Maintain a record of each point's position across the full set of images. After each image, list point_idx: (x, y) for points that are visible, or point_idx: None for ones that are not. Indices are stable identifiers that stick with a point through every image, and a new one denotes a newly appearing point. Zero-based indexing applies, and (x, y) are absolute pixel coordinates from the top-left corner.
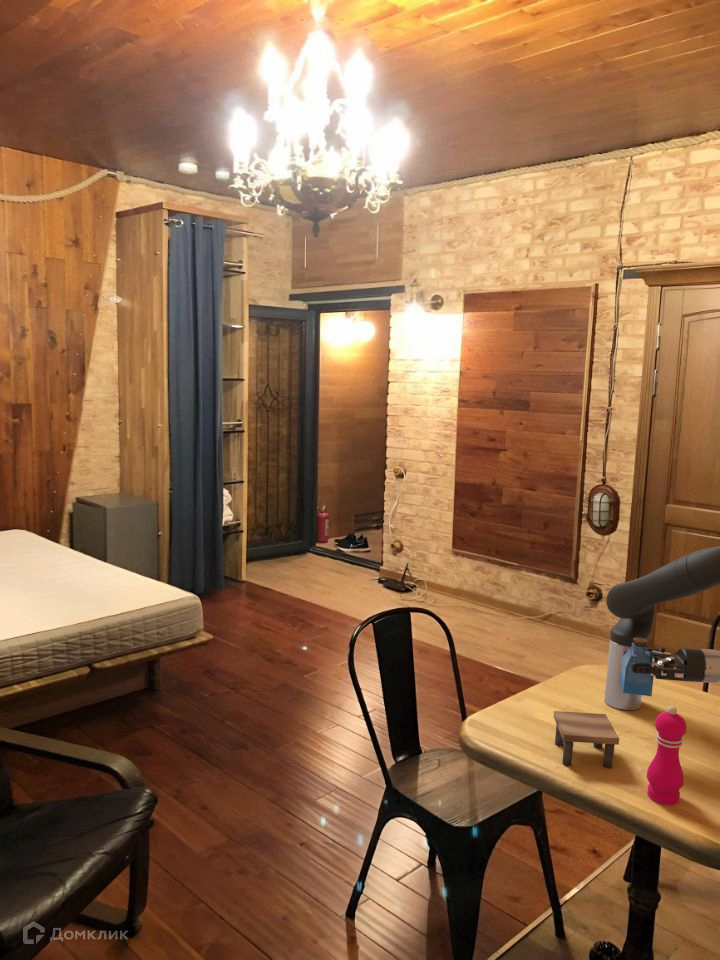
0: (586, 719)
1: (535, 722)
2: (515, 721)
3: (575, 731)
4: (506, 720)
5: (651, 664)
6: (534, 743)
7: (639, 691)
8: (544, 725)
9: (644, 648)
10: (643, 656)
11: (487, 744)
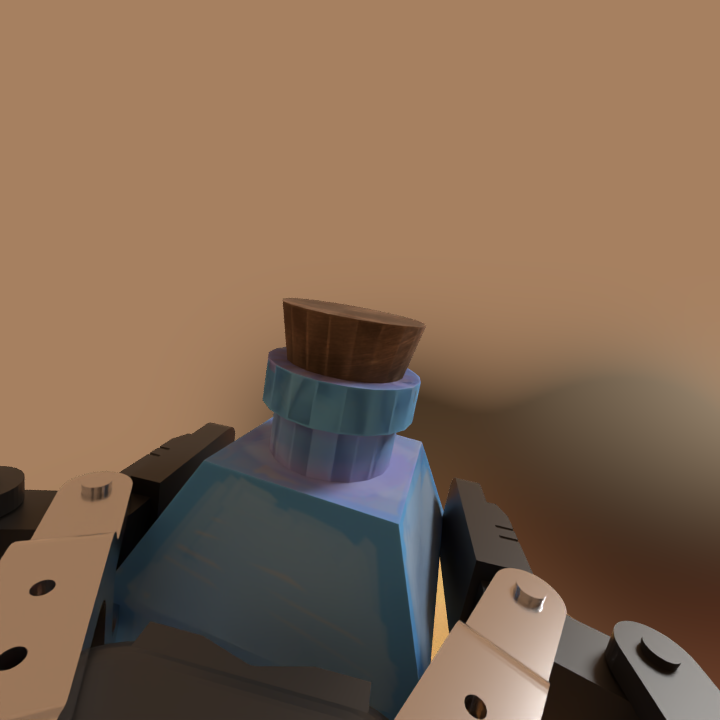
0: None
1: (446, 622)
2: (440, 579)
3: None
4: (440, 564)
5: (114, 473)
6: None
7: None
8: (432, 639)
9: (268, 365)
10: (254, 442)
11: None
